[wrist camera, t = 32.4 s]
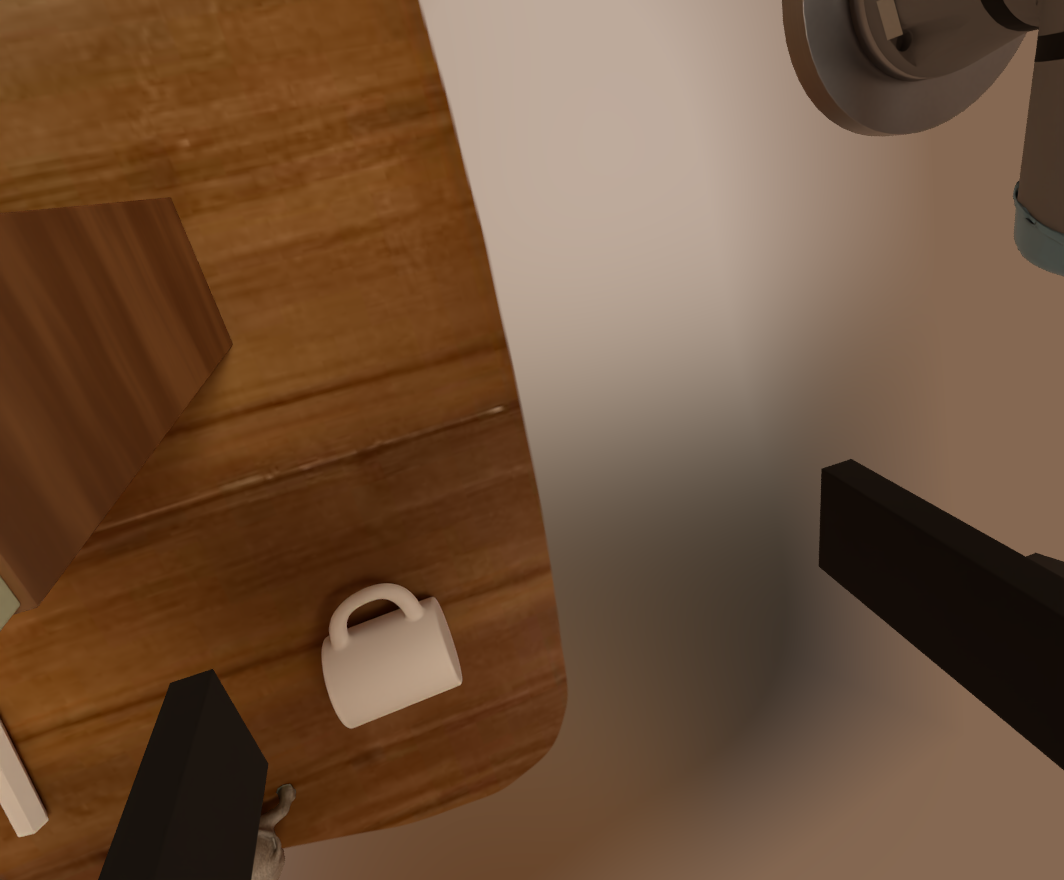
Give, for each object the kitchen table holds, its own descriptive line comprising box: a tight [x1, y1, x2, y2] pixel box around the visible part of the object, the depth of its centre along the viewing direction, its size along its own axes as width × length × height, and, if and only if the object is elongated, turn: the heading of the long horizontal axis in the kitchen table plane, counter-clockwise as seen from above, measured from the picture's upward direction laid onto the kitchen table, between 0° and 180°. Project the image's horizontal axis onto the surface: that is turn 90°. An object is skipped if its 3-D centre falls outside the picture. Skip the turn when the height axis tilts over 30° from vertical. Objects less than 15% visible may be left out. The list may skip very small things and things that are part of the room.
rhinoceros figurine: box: [251, 784, 296, 880], centre depth 56 cm, size 8×14×15 cm
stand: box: [0, 198, 233, 615], centre depth 27 cm, size 10×10×30 cm
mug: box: [322, 583, 462, 728], centre depth 52 cm, size 12×10×8 cm
